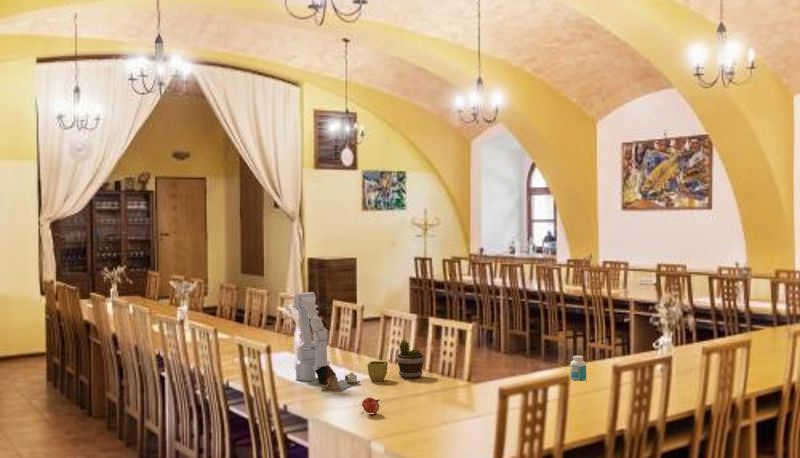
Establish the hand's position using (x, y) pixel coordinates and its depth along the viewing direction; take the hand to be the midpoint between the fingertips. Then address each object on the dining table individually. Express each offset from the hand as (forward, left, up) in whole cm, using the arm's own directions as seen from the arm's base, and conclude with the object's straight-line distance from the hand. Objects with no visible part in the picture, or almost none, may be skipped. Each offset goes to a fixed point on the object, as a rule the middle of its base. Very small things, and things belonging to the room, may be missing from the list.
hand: (321, 382), depth 391 cm
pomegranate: (+45, -49, -2) cm, 67 cm away
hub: (+13, +7, -1) cm, 15 cm away
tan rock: (+9, -7, -1) cm, 11 cm away
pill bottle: (+119, +36, -1) cm, 125 cm away
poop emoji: (+1, +6, -2) cm, 6 cm away
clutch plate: (+13, +7, +1) cm, 15 cm away
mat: (+10, 0, -1) cm, 11 cm away
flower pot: (+23, +17, -2) cm, 29 cm away
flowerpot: (+36, +30, -1) cm, 47 cm away
